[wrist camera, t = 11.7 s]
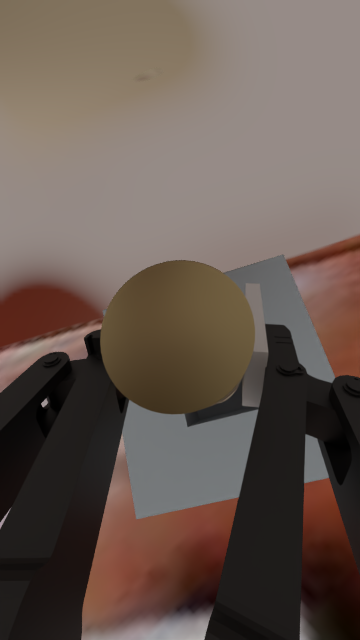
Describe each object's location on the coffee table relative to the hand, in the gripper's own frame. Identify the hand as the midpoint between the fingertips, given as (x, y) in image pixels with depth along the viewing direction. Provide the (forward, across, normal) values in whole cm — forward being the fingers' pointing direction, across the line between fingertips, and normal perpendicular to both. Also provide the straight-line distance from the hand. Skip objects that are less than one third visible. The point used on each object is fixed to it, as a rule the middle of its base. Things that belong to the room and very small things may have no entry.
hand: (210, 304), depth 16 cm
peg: (0, 0, -5) cm, 5 cm away
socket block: (+7, 0, -12) cm, 14 cm away
